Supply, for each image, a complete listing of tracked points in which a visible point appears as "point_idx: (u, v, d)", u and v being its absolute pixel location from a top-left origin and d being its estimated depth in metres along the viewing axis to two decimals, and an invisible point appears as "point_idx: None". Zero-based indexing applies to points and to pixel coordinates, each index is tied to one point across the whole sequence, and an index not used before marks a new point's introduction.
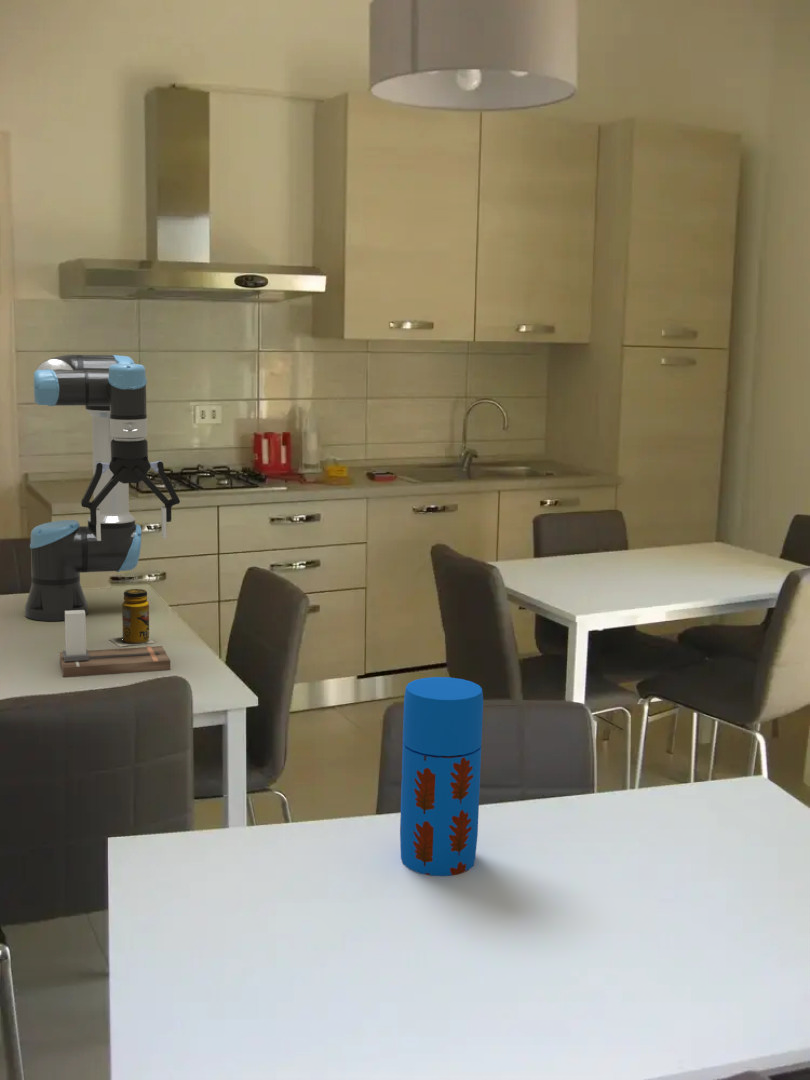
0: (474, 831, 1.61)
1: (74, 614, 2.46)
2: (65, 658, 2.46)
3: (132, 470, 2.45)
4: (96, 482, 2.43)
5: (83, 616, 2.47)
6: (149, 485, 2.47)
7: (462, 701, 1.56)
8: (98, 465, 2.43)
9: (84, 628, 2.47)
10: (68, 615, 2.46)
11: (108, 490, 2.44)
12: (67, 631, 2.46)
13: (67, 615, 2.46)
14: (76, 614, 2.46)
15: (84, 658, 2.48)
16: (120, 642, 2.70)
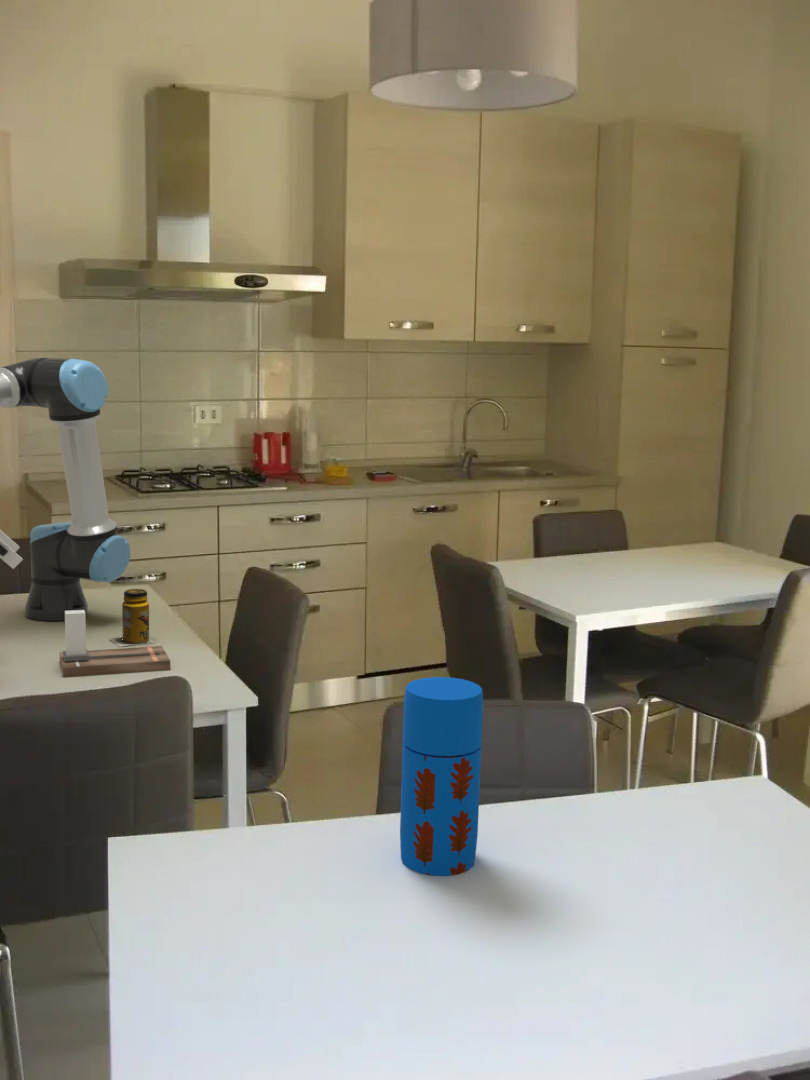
0: (474, 831, 1.61)
1: (74, 614, 2.46)
2: (65, 658, 2.46)
3: None
4: None
5: (83, 616, 2.47)
6: None
7: (462, 701, 1.56)
8: None
9: (84, 628, 2.47)
10: (68, 615, 2.46)
11: None
12: (67, 631, 2.46)
13: (67, 615, 2.46)
14: (76, 614, 2.46)
15: (84, 658, 2.48)
16: (120, 642, 2.70)
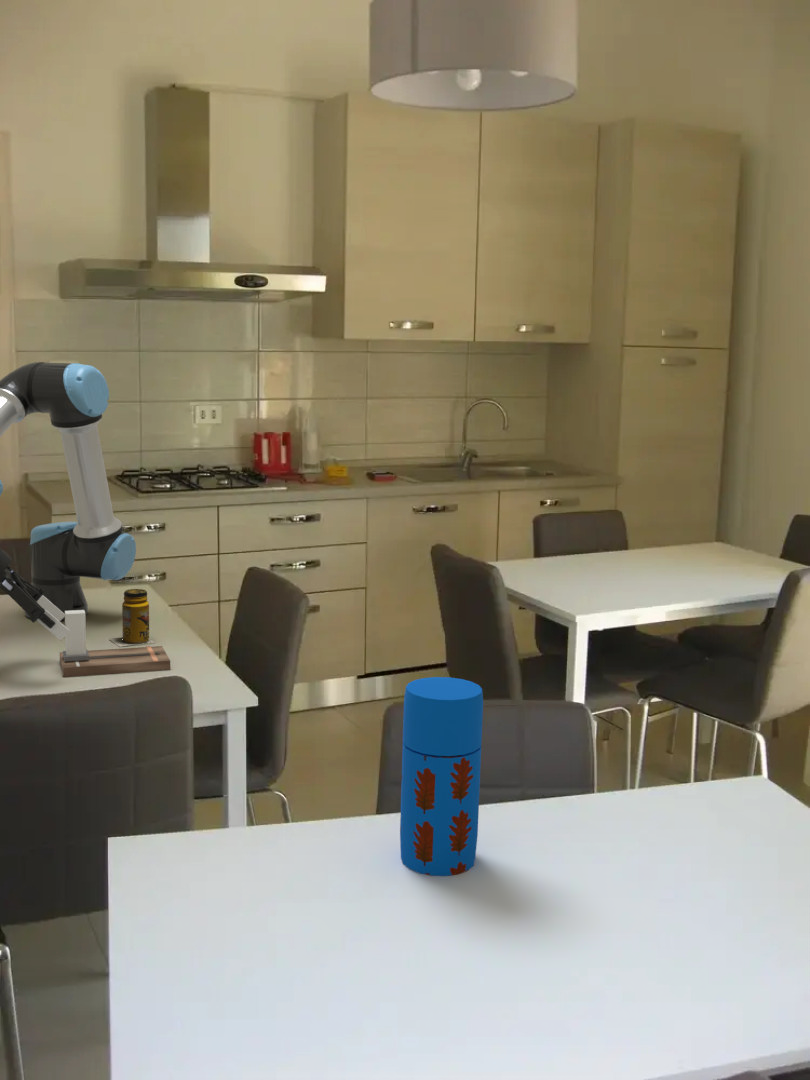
0: (474, 831, 1.61)
1: (74, 614, 2.46)
2: (65, 658, 2.46)
3: None
4: None
5: (83, 616, 2.47)
6: None
7: (462, 701, 1.56)
8: None
9: (84, 628, 2.47)
10: (68, 615, 2.46)
11: None
12: None
13: (67, 615, 2.46)
14: (76, 614, 2.46)
15: (84, 658, 2.48)
16: (120, 642, 2.70)
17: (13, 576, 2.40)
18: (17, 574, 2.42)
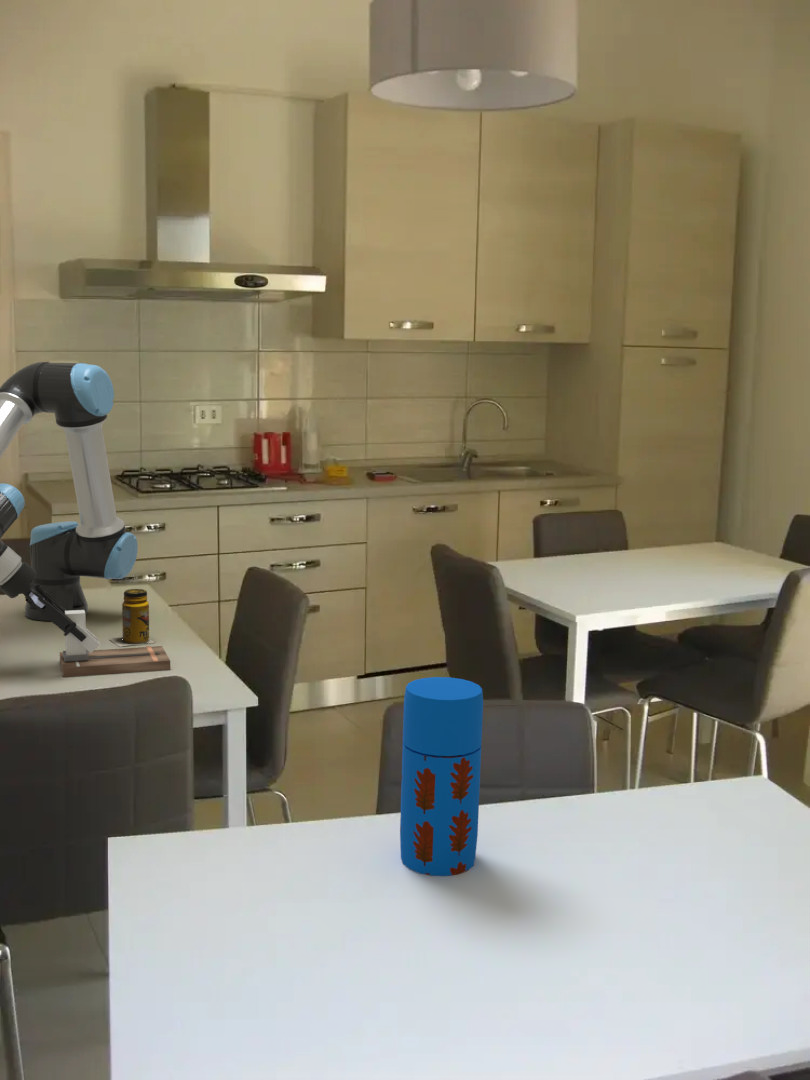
0: (474, 831, 1.61)
1: (74, 614, 2.46)
2: (65, 658, 2.46)
3: None
4: None
5: (83, 616, 2.47)
6: None
7: (462, 701, 1.56)
8: None
9: (84, 628, 2.47)
10: (68, 615, 2.46)
11: None
12: None
13: (67, 615, 2.46)
14: (76, 614, 2.46)
15: (84, 658, 2.48)
16: (120, 642, 2.70)
17: (39, 590, 2.43)
18: (40, 586, 2.45)
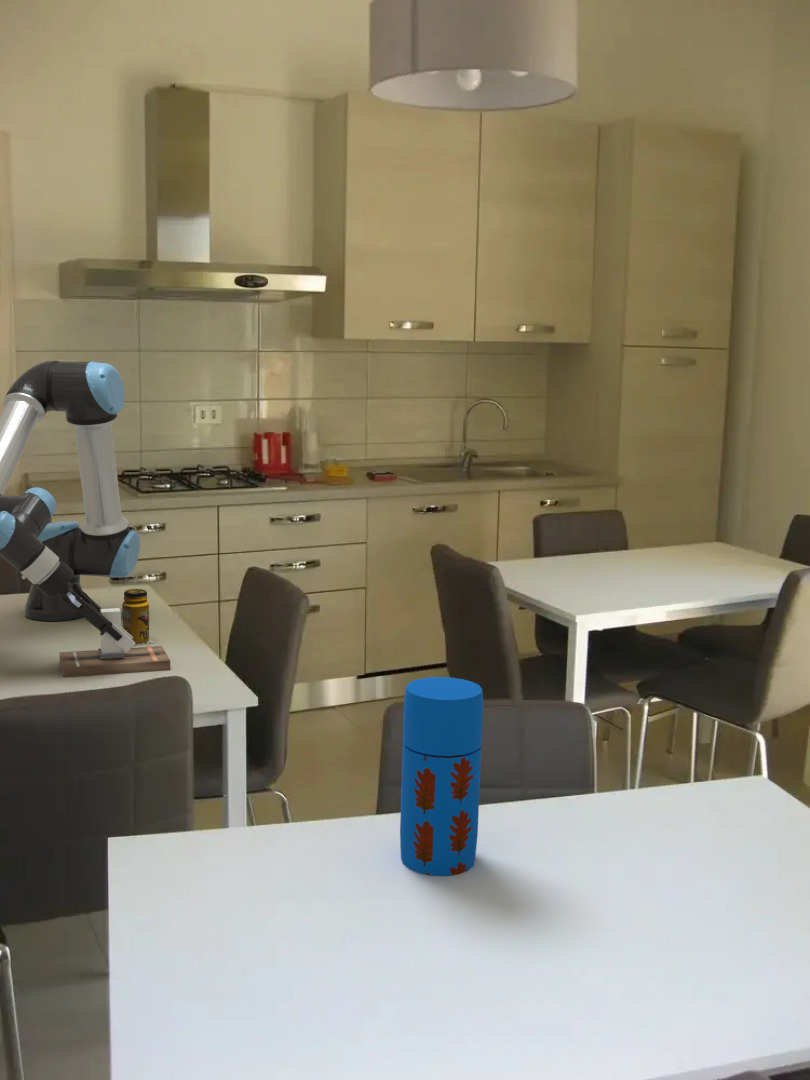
0: (474, 831, 1.61)
1: (110, 612, 2.49)
2: (101, 656, 2.49)
3: None
4: None
5: (119, 614, 2.49)
6: None
7: (462, 701, 1.56)
8: None
9: (119, 626, 2.50)
10: (104, 613, 2.48)
11: None
12: None
13: (103, 613, 2.48)
14: (112, 612, 2.49)
15: (119, 656, 2.50)
16: None
17: (76, 590, 2.45)
18: (78, 586, 2.47)
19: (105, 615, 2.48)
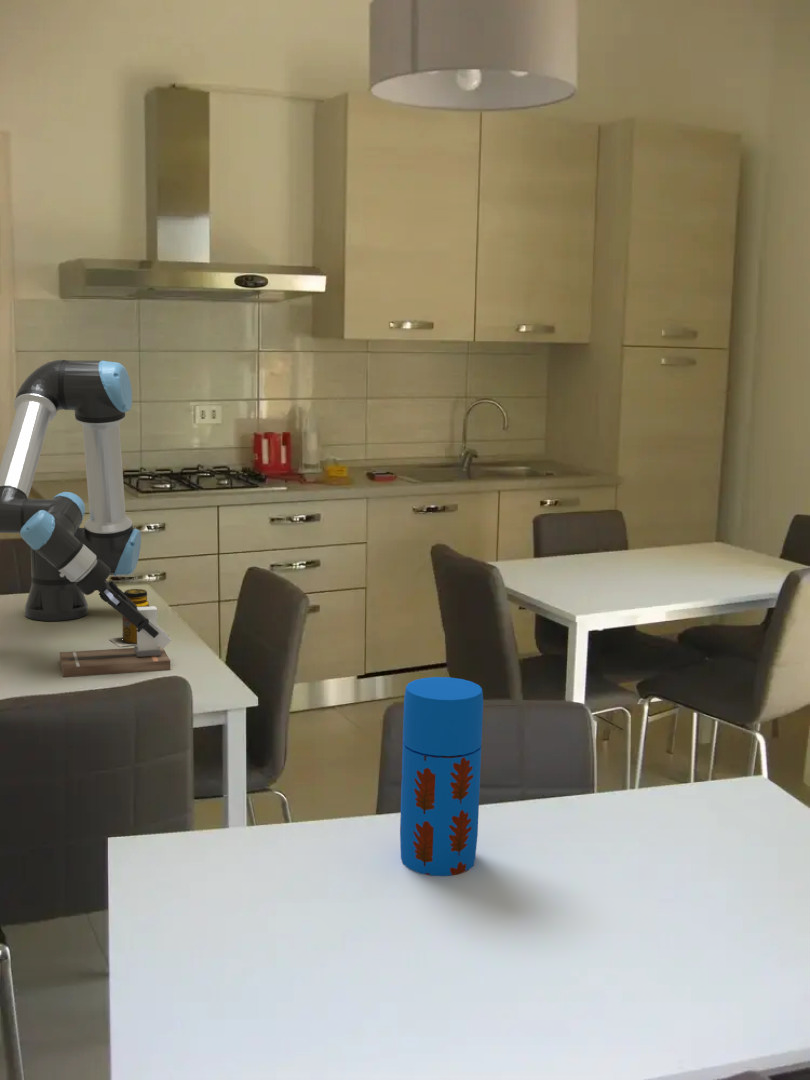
0: (474, 831, 1.61)
1: (146, 610, 2.51)
2: (138, 653, 2.51)
3: None
4: None
5: (155, 612, 2.52)
6: None
7: (462, 701, 1.56)
8: None
9: (156, 624, 2.52)
10: (141, 611, 2.51)
11: None
12: None
13: (140, 611, 2.51)
14: (148, 610, 2.51)
15: (156, 653, 2.53)
16: (120, 642, 2.70)
17: (113, 587, 2.48)
18: (114, 583, 2.50)
19: (142, 613, 2.51)
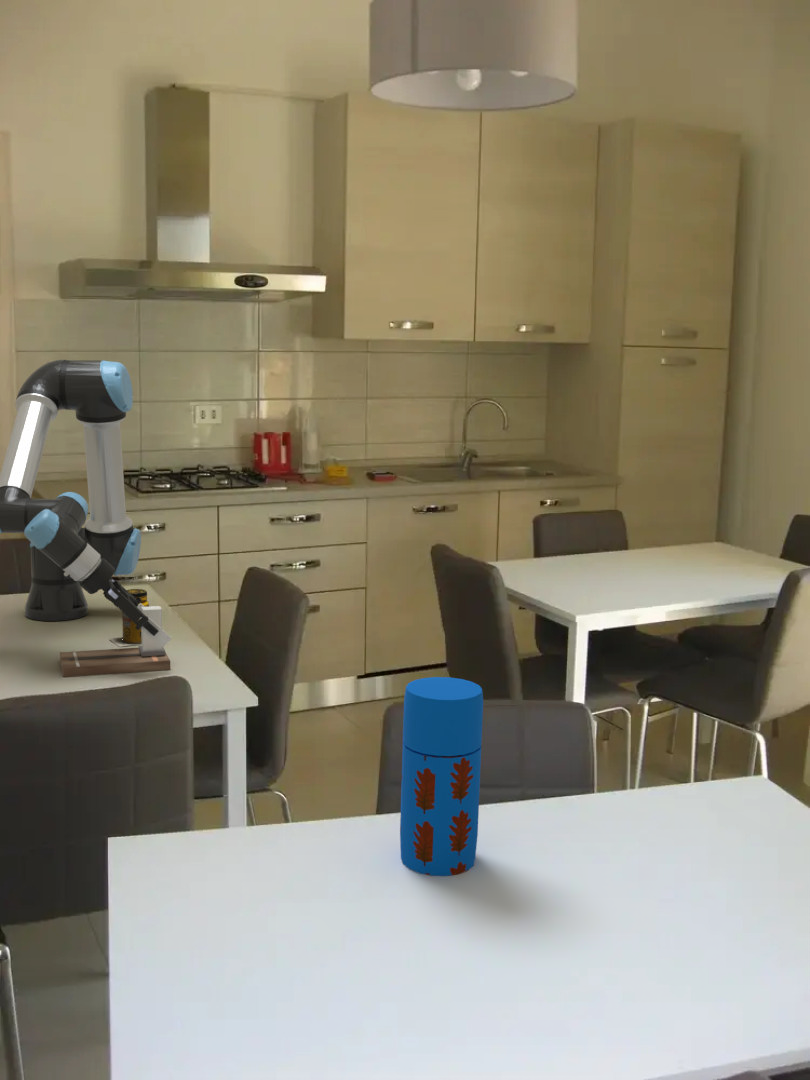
0: (474, 831, 1.61)
1: (151, 610, 2.52)
2: (142, 653, 2.52)
3: None
4: None
5: (159, 612, 2.52)
6: None
7: (462, 701, 1.56)
8: None
9: (160, 624, 2.53)
10: (145, 611, 2.51)
11: None
12: None
13: (144, 611, 2.51)
14: (153, 610, 2.52)
15: (160, 653, 2.53)
16: (120, 642, 2.70)
17: (116, 585, 2.48)
18: (119, 583, 2.51)
19: (146, 613, 2.51)
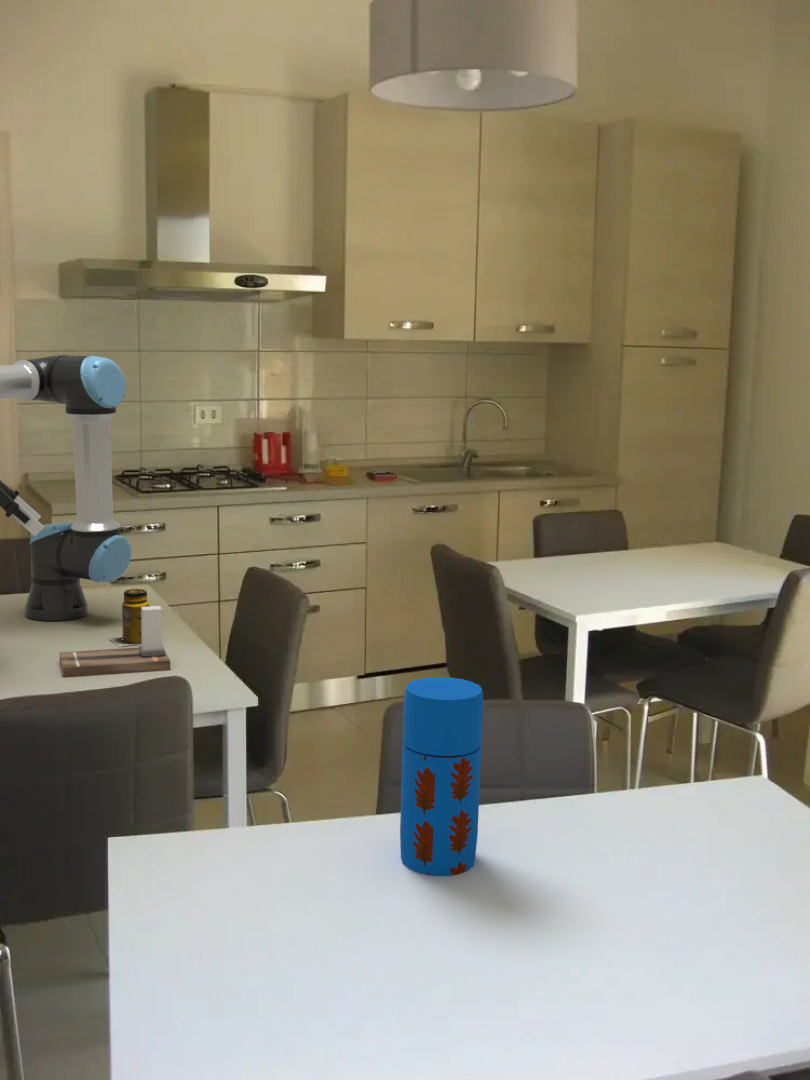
0: (474, 831, 1.61)
1: (151, 610, 2.52)
2: (142, 653, 2.52)
3: None
4: None
5: (159, 612, 2.52)
6: None
7: (462, 701, 1.56)
8: None
9: (160, 624, 2.53)
10: (145, 611, 2.51)
11: None
12: (144, 627, 2.52)
13: (144, 611, 2.51)
14: (153, 610, 2.52)
15: (160, 653, 2.53)
16: (120, 642, 2.70)
17: None
18: None
19: (146, 613, 2.51)
